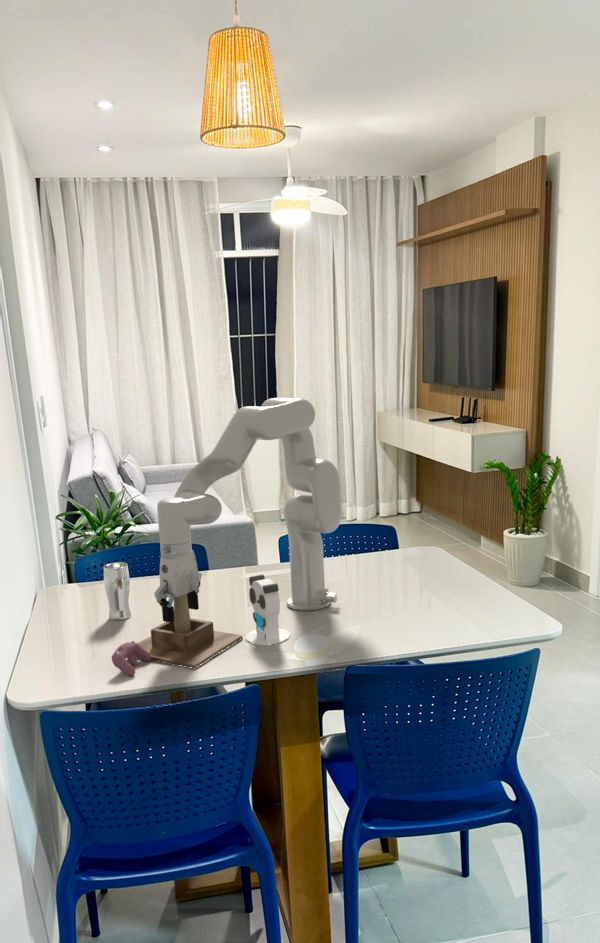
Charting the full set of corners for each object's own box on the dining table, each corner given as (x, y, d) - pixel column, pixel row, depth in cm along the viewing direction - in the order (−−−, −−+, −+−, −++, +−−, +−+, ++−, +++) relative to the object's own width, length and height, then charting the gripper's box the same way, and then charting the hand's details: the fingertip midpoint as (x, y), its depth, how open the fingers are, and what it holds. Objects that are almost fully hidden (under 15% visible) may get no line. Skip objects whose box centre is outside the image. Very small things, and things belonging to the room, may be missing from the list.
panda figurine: (238, 633, 198) (235, 577, 196) (278, 625, 202) (275, 570, 200) (254, 648, 187) (251, 590, 185) (297, 639, 192) (294, 582, 189)
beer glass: (137, 614, 217) (133, 563, 214) (122, 622, 210) (117, 569, 208) (118, 611, 220) (113, 561, 217) (102, 619, 213) (97, 567, 211)
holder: (242, 639, 194) (241, 618, 193) (194, 669, 177) (193, 646, 176) (174, 627, 204) (172, 607, 204) (122, 654, 187) (121, 633, 186)
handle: (198, 644, 189) (194, 585, 187) (172, 648, 187) (167, 589, 185) (194, 637, 194) (190, 580, 191) (169, 641, 192) (165, 584, 190)
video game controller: (139, 665, 184) (125, 640, 184) (153, 658, 183) (139, 632, 183) (119, 682, 175) (104, 656, 175) (134, 675, 174) (120, 648, 173)
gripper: (165, 558, 177) (171, 629, 180) (209, 541, 192) (213, 606, 195) (140, 556, 181) (146, 624, 184) (185, 538, 196) (190, 602, 198)
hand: (181, 615), depth 189 cm, fingers open, 9 cm apart
